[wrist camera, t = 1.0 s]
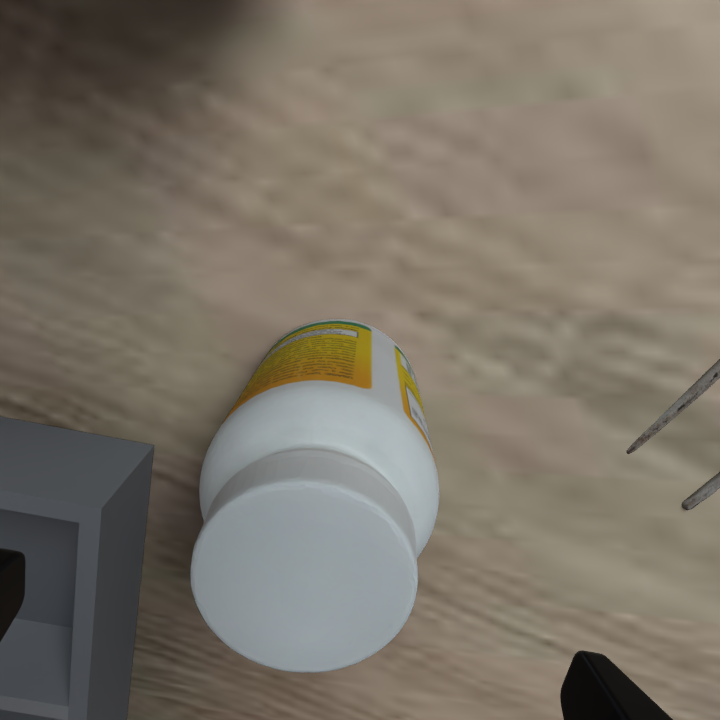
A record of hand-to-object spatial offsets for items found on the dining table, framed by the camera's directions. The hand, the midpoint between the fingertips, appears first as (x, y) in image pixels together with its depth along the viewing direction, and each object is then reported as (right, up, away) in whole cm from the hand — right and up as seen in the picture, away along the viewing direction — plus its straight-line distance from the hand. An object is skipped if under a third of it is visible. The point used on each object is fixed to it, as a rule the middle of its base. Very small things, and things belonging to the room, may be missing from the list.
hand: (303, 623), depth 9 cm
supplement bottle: (0, +3, +10) cm, 11 cm away
